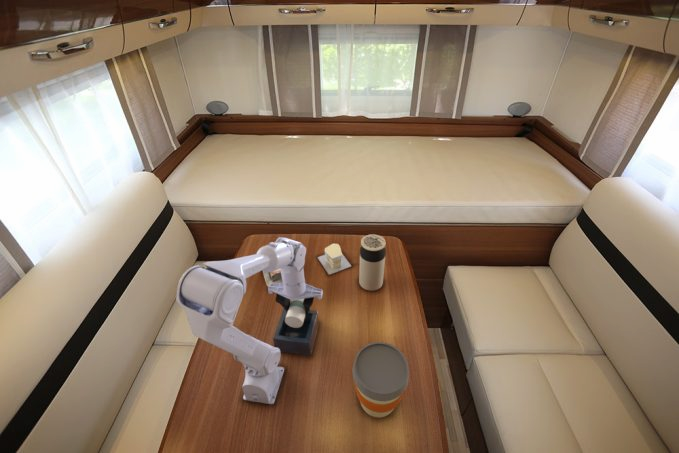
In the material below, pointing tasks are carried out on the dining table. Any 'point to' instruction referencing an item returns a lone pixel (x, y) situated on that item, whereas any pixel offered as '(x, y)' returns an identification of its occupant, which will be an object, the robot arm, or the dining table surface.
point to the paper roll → (295, 314)
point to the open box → (297, 334)
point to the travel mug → (372, 262)
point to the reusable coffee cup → (380, 377)
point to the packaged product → (272, 276)
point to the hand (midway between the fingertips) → (298, 311)
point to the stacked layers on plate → (334, 259)
